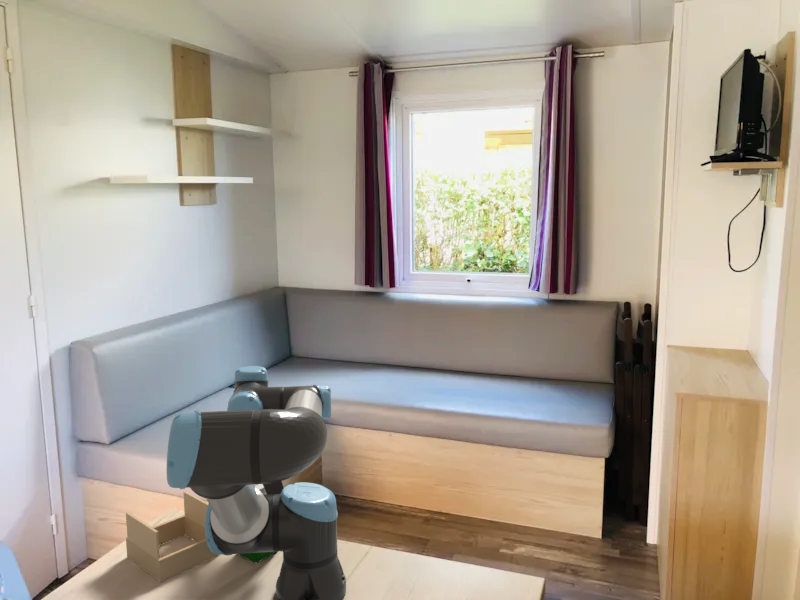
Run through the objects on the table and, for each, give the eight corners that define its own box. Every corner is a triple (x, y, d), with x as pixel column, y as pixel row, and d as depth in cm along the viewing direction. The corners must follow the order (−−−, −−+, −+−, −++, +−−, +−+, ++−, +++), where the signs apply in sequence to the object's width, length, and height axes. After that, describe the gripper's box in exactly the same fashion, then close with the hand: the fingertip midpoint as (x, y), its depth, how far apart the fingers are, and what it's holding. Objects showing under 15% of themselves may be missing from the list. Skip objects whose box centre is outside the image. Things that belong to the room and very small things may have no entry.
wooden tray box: (220, 553, 157) (218, 509, 155) (160, 581, 145) (157, 533, 143) (186, 532, 167) (183, 490, 165) (127, 557, 155) (124, 511, 154)
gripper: (300, 440, 148) (302, 527, 151) (235, 416, 164) (238, 496, 167) (273, 449, 142) (276, 540, 145) (209, 424, 158) (213, 506, 161)
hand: (256, 516), depth 156 cm, fingers open, 13 cm apart
